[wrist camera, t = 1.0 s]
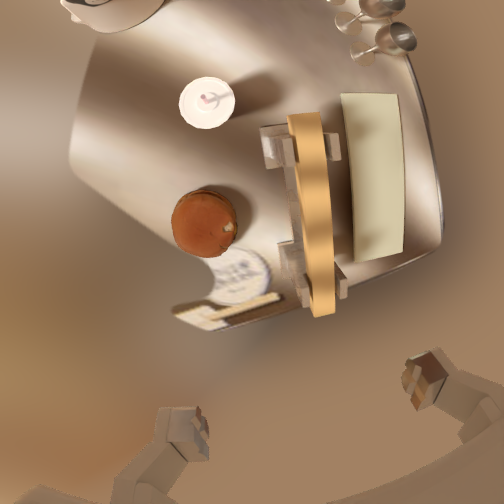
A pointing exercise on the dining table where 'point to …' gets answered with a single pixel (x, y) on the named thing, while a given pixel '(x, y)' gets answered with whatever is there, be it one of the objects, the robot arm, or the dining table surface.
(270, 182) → the dining table surface
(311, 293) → the bar
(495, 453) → the robot arm
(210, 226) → the burger
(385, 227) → the mat
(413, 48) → the goblet set
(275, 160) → the rack
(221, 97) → the beverage cup
